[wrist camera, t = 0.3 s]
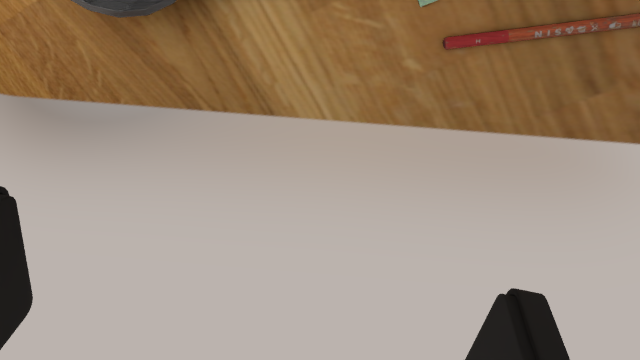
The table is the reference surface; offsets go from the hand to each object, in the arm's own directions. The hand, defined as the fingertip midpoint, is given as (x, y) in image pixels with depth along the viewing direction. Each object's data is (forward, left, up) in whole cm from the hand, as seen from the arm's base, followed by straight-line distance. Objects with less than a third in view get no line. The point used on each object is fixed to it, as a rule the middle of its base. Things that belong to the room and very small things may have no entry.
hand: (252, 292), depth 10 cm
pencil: (+11, +14, -37) cm, 41 cm away
